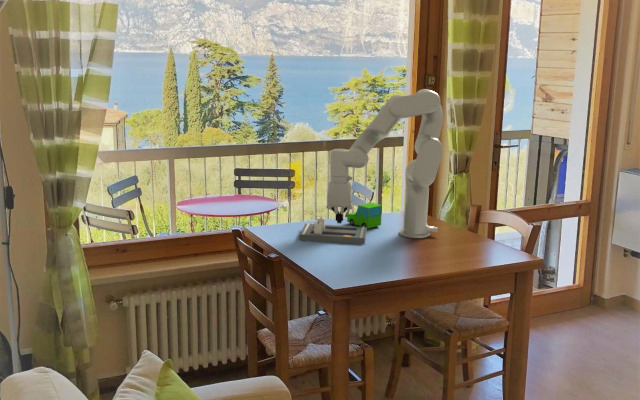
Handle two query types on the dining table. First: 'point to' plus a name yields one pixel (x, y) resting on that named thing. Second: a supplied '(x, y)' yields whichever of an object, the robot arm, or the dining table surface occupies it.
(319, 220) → the tab
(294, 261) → the dining table surface
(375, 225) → the toy car
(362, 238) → the switch board
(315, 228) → the tab
